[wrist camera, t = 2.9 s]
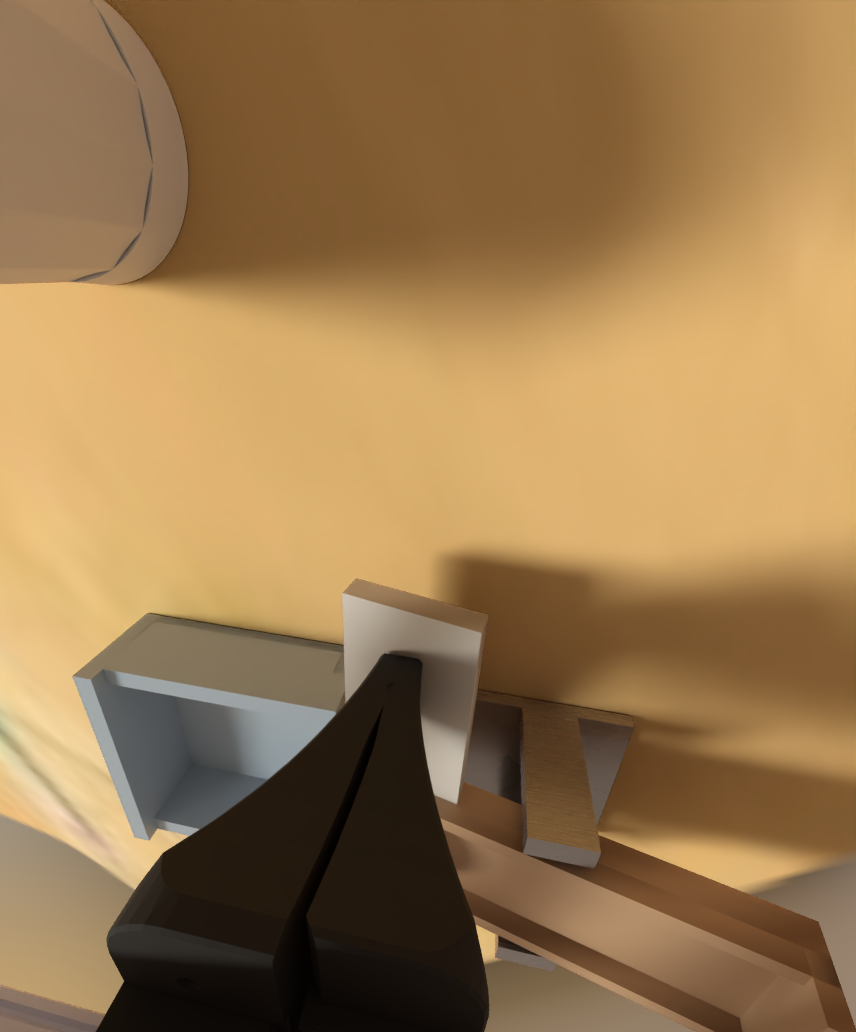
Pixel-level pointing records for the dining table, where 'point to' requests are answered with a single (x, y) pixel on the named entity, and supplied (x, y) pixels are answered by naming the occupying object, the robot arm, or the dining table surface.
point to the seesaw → (586, 891)
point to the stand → (547, 778)
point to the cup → (84, 147)
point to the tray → (203, 714)
